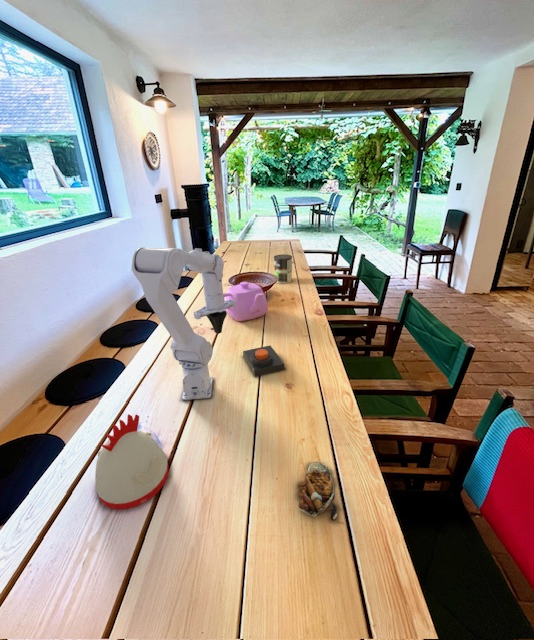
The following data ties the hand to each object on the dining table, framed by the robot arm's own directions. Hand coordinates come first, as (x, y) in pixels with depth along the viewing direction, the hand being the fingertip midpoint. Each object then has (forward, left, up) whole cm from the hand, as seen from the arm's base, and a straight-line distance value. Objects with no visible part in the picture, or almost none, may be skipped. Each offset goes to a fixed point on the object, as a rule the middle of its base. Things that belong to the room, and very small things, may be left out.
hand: (218, 332), depth 105 cm
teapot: (+36, -10, -11) cm, 39 cm away
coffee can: (+83, -32, -11) cm, 90 cm away
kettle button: (-6, -14, -7) cm, 16 cm away
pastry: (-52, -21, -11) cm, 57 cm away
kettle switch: (-4, -14, -10) cm, 18 cm away
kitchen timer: (-45, +16, -11) cm, 49 cm away
